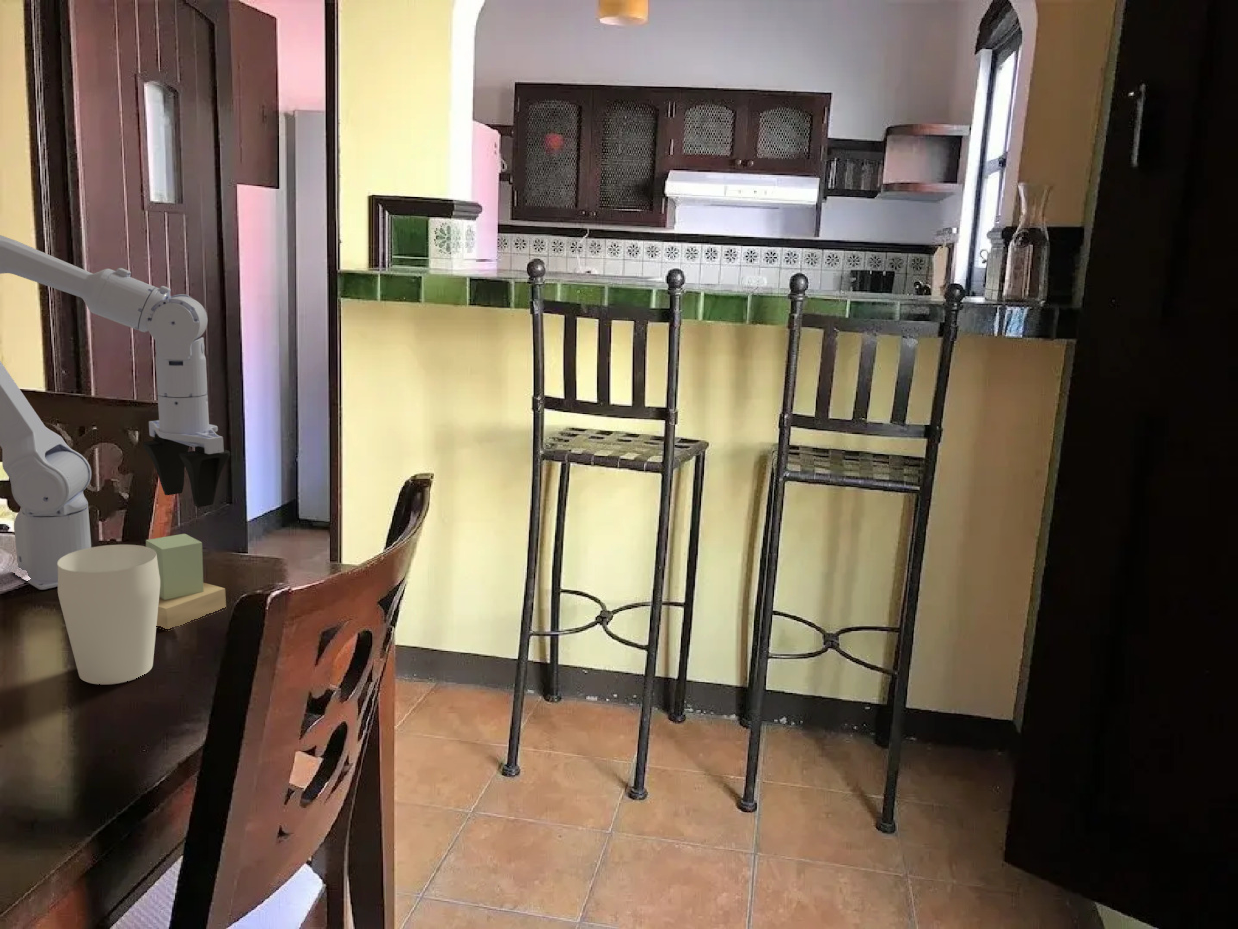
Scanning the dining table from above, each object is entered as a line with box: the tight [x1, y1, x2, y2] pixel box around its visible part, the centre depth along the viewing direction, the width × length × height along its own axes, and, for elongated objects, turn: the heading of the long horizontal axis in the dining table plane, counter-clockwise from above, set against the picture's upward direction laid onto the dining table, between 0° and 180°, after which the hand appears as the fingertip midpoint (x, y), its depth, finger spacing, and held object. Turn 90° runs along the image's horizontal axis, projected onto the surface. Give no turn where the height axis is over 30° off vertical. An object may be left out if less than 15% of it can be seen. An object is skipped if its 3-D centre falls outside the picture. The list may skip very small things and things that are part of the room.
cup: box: [57, 544, 160, 686], centre depth 98 cm, size 9×9×12 cm
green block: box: [145, 533, 204, 600], centre depth 114 cm, size 4×4×6 cm
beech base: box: [157, 581, 227, 629], centre depth 115 cm, size 8×8×3 cm
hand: (188, 499), depth 126 cm, fingers open, 7 cm apart
